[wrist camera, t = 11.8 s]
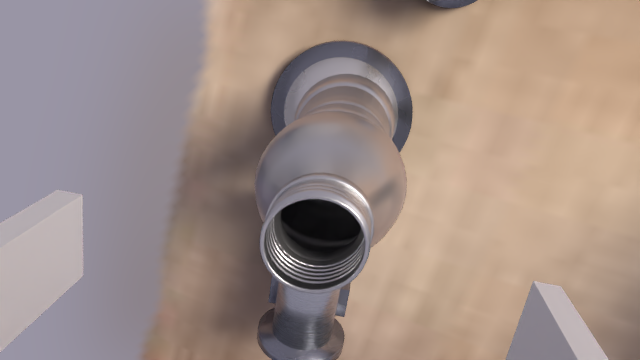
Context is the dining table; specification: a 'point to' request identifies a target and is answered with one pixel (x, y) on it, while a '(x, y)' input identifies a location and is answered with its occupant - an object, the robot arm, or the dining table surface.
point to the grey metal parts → (300, 75)
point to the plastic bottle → (330, 185)
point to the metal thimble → (451, 3)
